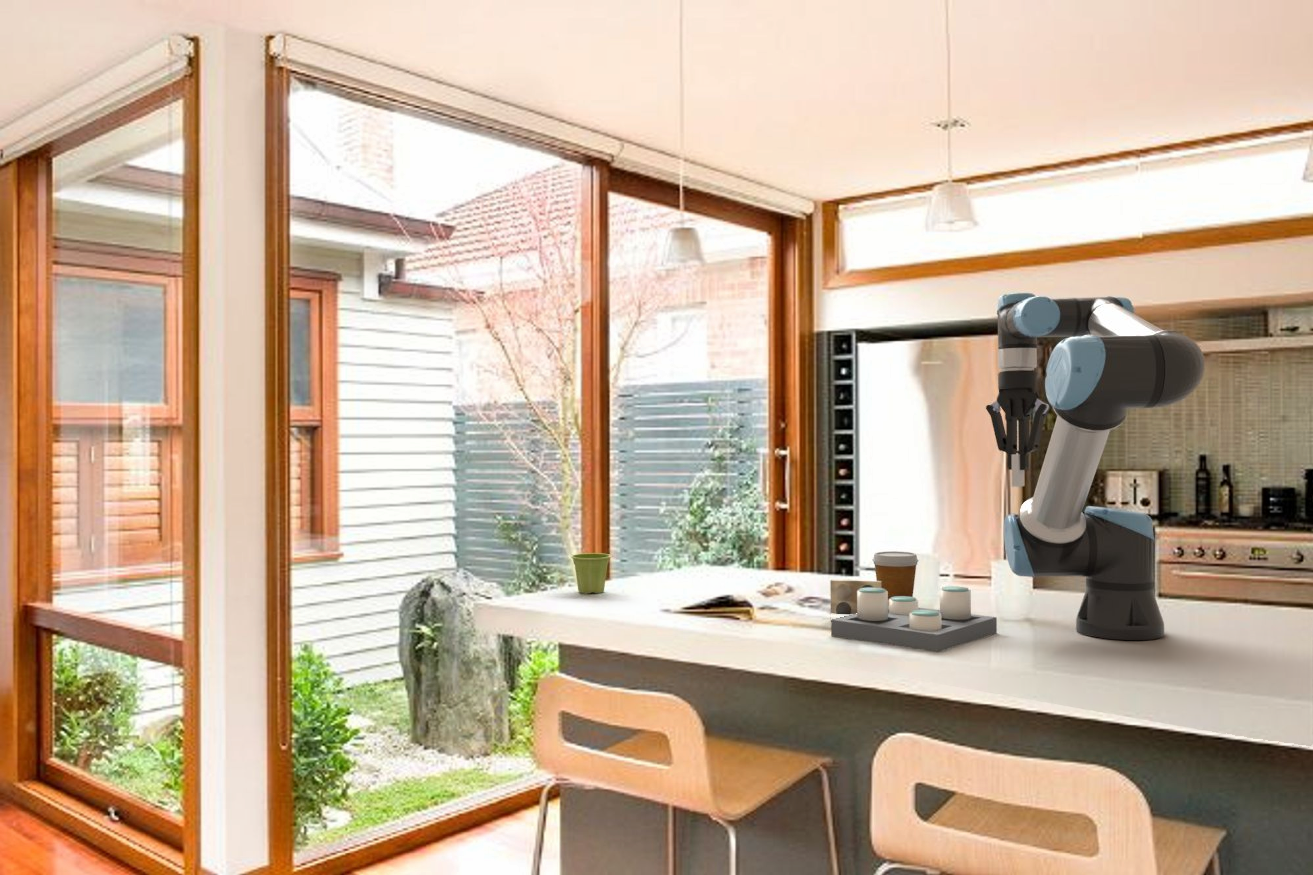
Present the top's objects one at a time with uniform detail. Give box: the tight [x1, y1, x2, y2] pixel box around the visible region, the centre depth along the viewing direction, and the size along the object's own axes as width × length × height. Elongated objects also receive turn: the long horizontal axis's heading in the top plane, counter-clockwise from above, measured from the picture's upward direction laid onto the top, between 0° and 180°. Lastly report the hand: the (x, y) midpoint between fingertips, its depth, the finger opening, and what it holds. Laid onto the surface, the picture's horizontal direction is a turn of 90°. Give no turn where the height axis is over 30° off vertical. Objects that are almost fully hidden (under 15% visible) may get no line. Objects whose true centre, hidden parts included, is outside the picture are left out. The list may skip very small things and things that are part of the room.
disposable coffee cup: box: [871, 550, 919, 606], centre depth 228 cm, size 10×10×12 cm
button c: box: [909, 610, 942, 632], centre depth 194 cm, size 6×6×5 cm
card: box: [829, 579, 881, 614], centre depth 217 cm, size 10×1×8 cm, turn 76°
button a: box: [939, 585, 972, 620], centre depth 202 cm, size 6×6×5 cm
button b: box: [889, 596, 919, 616], centre depth 210 cm, size 6×6×5 cm
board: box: [830, 606, 998, 653], centre depth 202 cm, size 22×22×3 cm
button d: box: [857, 587, 888, 621], centre depth 202 cm, size 6×6×5 cm
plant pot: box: [571, 552, 612, 594], centre depth 257 cm, size 9×9×9 cm
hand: (1018, 486), depth 220 cm, fingers closed
